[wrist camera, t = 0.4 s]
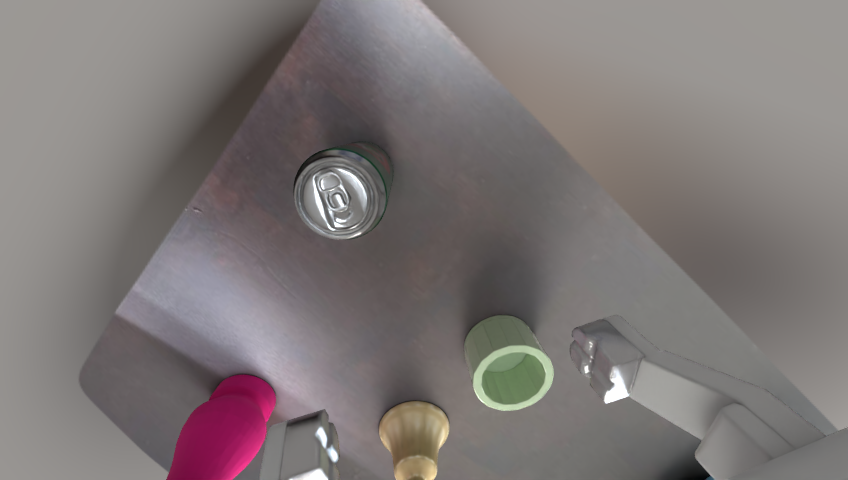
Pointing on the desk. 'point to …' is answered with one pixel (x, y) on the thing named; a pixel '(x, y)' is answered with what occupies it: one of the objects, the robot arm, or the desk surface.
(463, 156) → the desk surface
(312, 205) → the soda can
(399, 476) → the hand bell
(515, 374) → the socket
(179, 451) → the pepper mill
